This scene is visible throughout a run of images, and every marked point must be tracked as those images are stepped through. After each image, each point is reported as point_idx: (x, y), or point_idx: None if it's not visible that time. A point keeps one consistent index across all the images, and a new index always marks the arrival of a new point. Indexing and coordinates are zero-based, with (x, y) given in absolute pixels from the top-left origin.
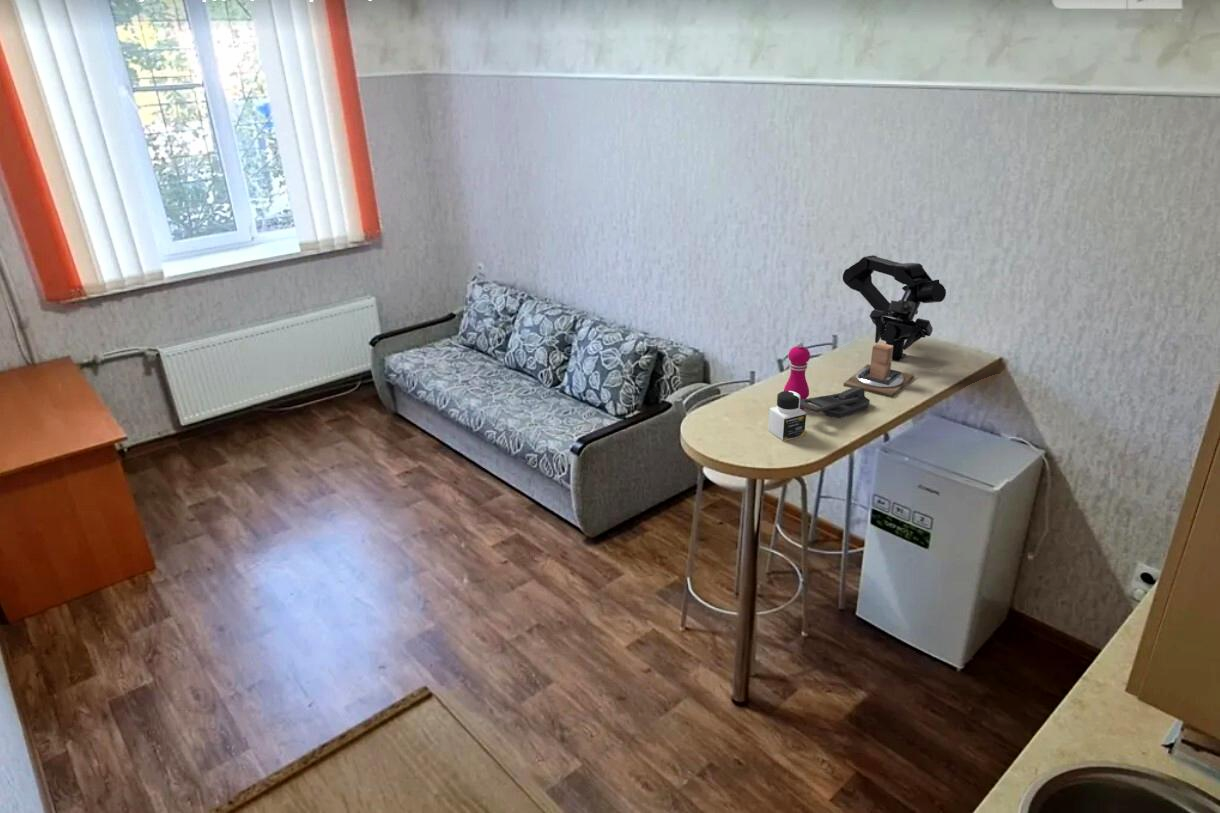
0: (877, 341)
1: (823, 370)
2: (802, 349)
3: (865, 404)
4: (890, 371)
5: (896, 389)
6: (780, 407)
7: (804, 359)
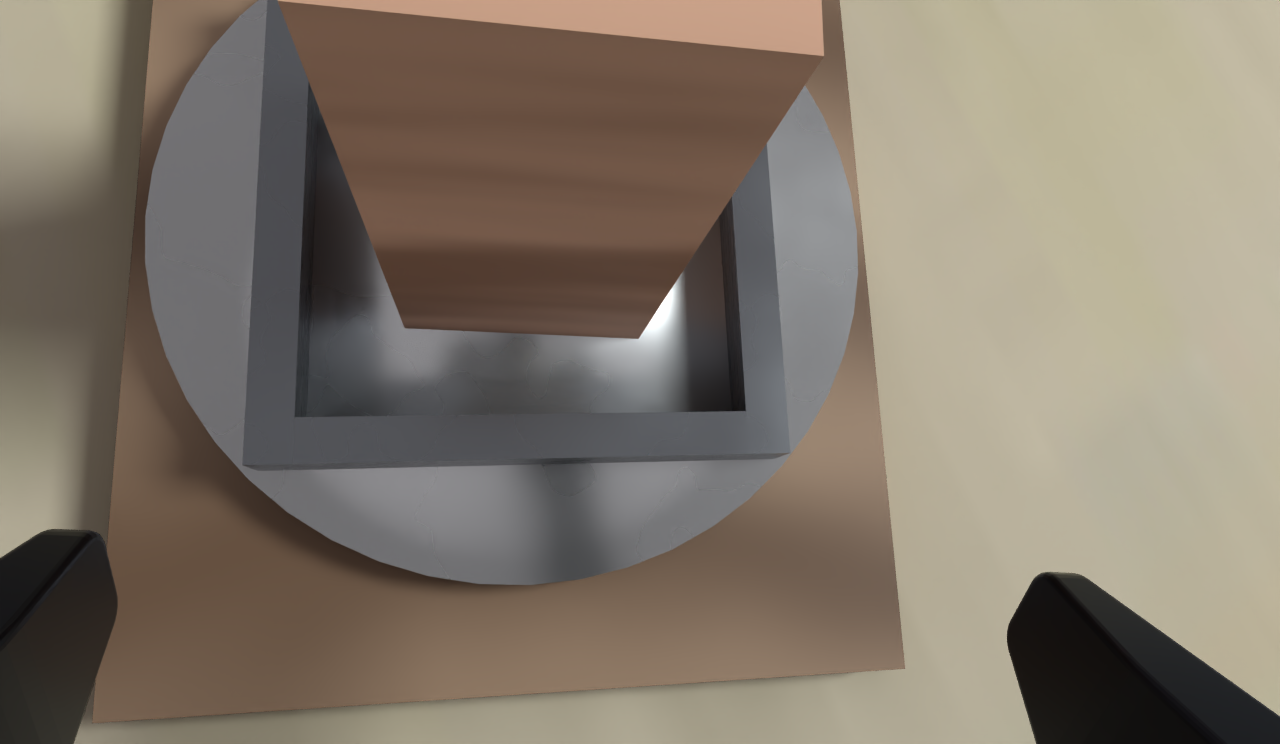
0: (1038, 665)
1: (1216, 215)
2: None
3: None
4: (427, 419)
5: (165, 14)
6: None
7: None
